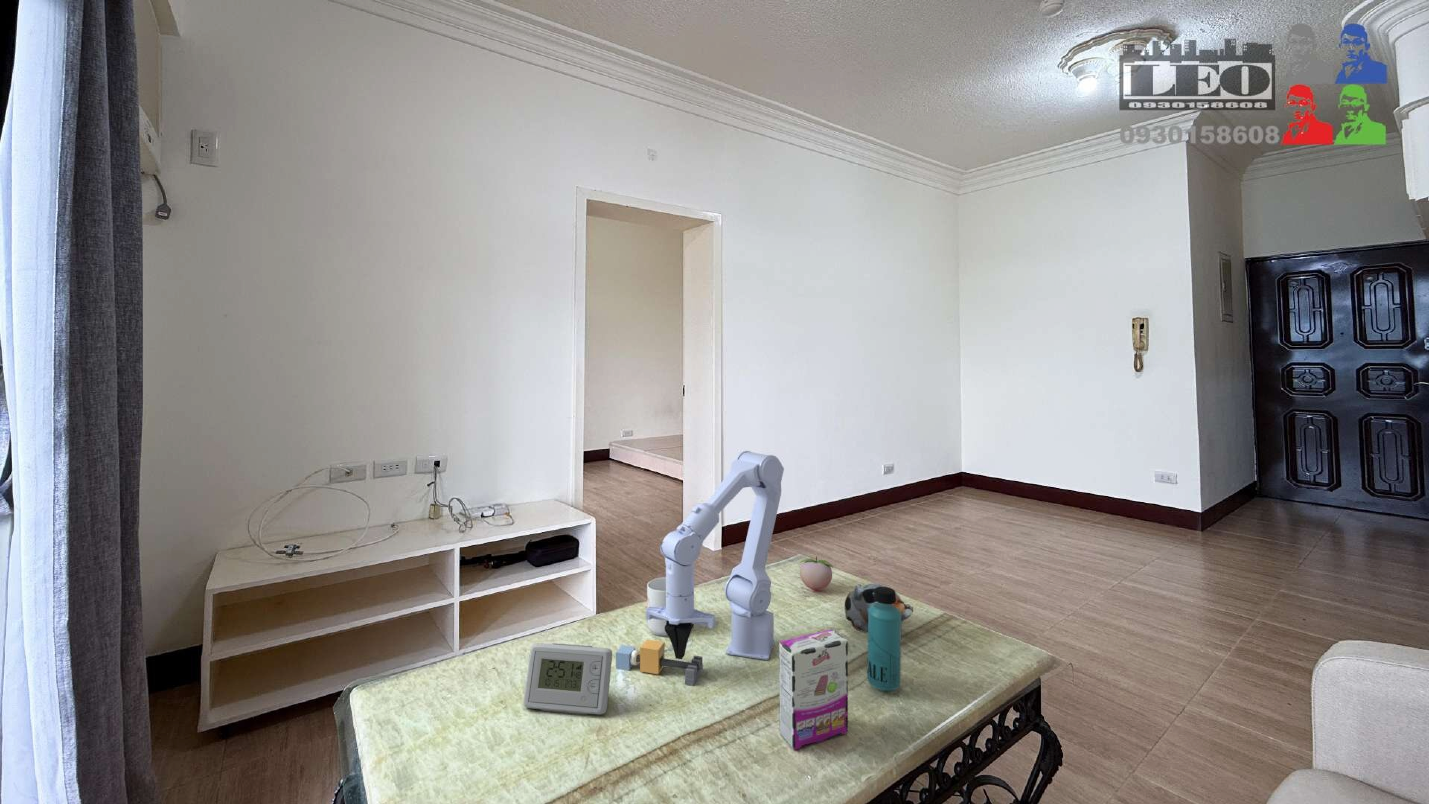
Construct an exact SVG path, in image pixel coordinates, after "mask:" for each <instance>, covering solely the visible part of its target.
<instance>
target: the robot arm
mask: <svg viewBox="0 0 1429 804" xmlns="http://www.w3.org/2000/svg"><path fill="white" fill-rule="evenodd" d="M784 471H785V468H784V466H783V464H782V462H781V461H780V459H779V458H778V457H777V456H775V455H773V454H771V455H770V454H763V453H756V452H752V451H751V450H743V451H741V452H740V453H738V455H737V457H736V458H735V459H734V460H733V461H731V464H730V470H729V472H728V473H727V474H726V476H725V477H724V478H723V480H722V481H721V482H720V483H719V485H718V487H717V488H716V489H715V491H714V492H713V494H712V495H711V496H710V498H709V499H708V500H707V502H702V503H698V504H697V505H695V506H693V507H692V508H691V509H690V510H691V512H690V513H689V514H688V515H687V517H686V518H685V519H684V520H683V522H681V524H680V525H678V526H677V527H676V529H675V530H672V531H670V532H669V533H667V535H666V536H665V537H664V538H663V540H662V544H661V545H660V546H659V549H660V553H661V555H662V556H663V557H664V560H665V561H664V564H665V577H666V607H648V608H647V607H646V609H645V613H644V614H645V616H644V617H645V620H646V621H647V620H650V619H659V620H666V625H665V627H664V628H665V632H666V633H667V635H668V636H667V637H668V638H669V640H670V643H671V646H672V650H673V652H674V657H675V660H676V659H677V660H683V658H684V657H685V655H686V649H687V645H688V642H689V638H690V635H691V633H692V631H693V628H694V626H695V625H696V626H704V627H705V626H706V627H707V628H709V629H713V628H714V627H715V625H716V614H712V613H711V614H710V613H707V612H704V611H702V610H698V609H695V561H697V560H698V558H699V557H700V553H701V549H702V546H703V545H704V544H703V543H704V542H705V540H706V539H707V537H709V535H710V534H711V532H713V530H714V529H715V528H716V526H717V525H718V524H719V523H720V513H721V512H722V511H723V510H724V509H725V508H726V507H727V505H728V504H729V503H731V501H732V500H733V499H735V497H736V496H737V495H738V494H739V493H740V492H741V491H742V490H743V489H745V488H751V489H752V491H753V492H754V494H755V498H754V503H753V509H752V512H751V517H750V522H749V526H748V529H747V535H746V540H745V543H744V548H743V552H742V557H741V561H740V563H739V564H738V565H736V566H735V567H733V568H732V570H731V573H730V576H729V578H728V580H727V581H726V583H725V586H724V595H725V598H726V599H727V601H729V607H730V609H731V610H730V611H731V613H730V614H731V615H730V618H731V619H730V620H731V621H730V624H731V625H730V627H731V628H730V629H731V631H730V633H731V634H730V635H731V636H730V643H729V645H728V647H727V649H726V650H725V654H726V655H732V656H738V657H744V658H750V659H758V660H765V661H768V660H769V659H770V656H771V654H772V651H773V648H774V645H775V640H774V639H775V637H774V635H775V634H774V633H775V632H774V631H775V629H774V628H775V625H774V624H775V617H774V612H772V611H769V610H768V608H769V606H770V605H771V602H772V601H771V600H772V593H771V587H772V586H771V585H772V580H771V578H770V577H769V575H768V573H767V571H766V565H767V560H768V556H769V551H770V548H771V541H772V538H773V533H774V530H775V529H774V528H775V523H776V520H777V519H776V518H777V514H778V509H779V506H780V505H779V504H780V500H781V497H782V480H783V475H784Z"/></svg>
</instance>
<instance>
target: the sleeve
mask: <svg viewBox="0 0 1429 804" xmlns="http://www.w3.org/2000/svg"><path fill="white" fill-rule="evenodd" d="M639 651H640V662H639V670H640V672H642V673H647V674H648V673H649V674H652V675H653V674H655V675H659V674H660V673H661V671H662V670H663V668H665V666H661V665H659V659H660V658H665V652H666V651H665V641H660V640H653V639H646V640H645V641H644V642H643V643H642V644H641V646H640V647H639ZM665 659H666V658H665Z"/></svg>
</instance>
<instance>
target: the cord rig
mask: <svg viewBox="0 0 1429 804" xmlns="http://www.w3.org/2000/svg"><path fill="white" fill-rule="evenodd" d="M703 661H704V660H703V655H702V656H701V655H695V654H694V655H693V658H691V660H690V662H689V661H684V660H683V661H682V660H678V659H677V660H676V659H671V658H670V659H669V658H660V659H659V665H661V666H664V667H667V668H668V667H669V668H674V669H681V670H684V671H685V672H684V673H685V674H684V686H685V685H686V686H694V685H695V683H697V681H698V678H699V677H700V675H701V673H702V671H703V670H704V663H703ZM639 664H640V650H636V646H632V645H623V644H622V645H621V646H620V647H619V649H617V651H615V668H616V669H618V670H623V671H630V670H631V668H633V666H638V665H639Z"/></svg>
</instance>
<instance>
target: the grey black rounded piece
mask: <svg viewBox="0 0 1429 804" xmlns="http://www.w3.org/2000/svg"><path fill="white" fill-rule="evenodd" d="M877 587H888V586H887V585H882V584H879V583H868V584H865V586H864V587H863V586H862V585H861V584H860V583H859V584H857V585H856V586H855V588H854V589H853V590H852V591H850V592H849V593H848V594H847V595H846V597H845V600H844V612H845V619H846V620H847V621H849V622H850V623H851V625H852V627H853V628H854V629H855V630H858V629H859V631H861V630H862V631H861V632H864V633H867V629H868V623H867V622H868V609H869V608H870V607H871V606H872V605H873V604H875V603H878V602H876V601H875V600H874V591H875V588H877ZM895 594H896V602H895V603H894V604H892V605H894V606H895V607H896V608H897V609H898V610H899V611H900V612H901V615H902V616H901V625H902V624H903V622H904V621H906V620H907V619H908V618H910V617H911V616H912V615H913V613H914V606H911V604H907V603H905V601H903V600H902V598H901V596H900V595H899V594H898V593H897V592H896V591H895Z"/></svg>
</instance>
